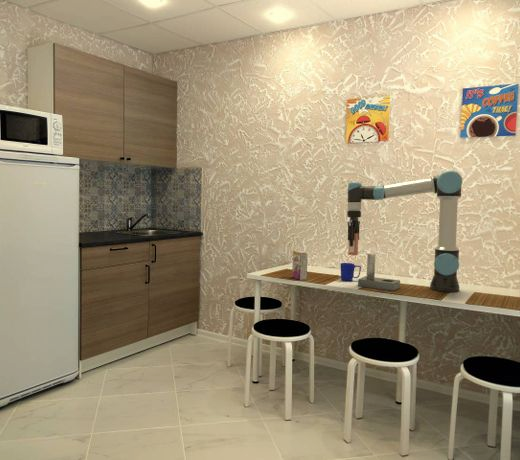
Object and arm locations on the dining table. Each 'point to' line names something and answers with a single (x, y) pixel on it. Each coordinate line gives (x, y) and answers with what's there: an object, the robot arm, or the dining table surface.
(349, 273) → the mug
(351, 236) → the robot arm
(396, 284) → the gray socket post base
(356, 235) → the orange rectangular block
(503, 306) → the dining table surface
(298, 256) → the candy bar box
